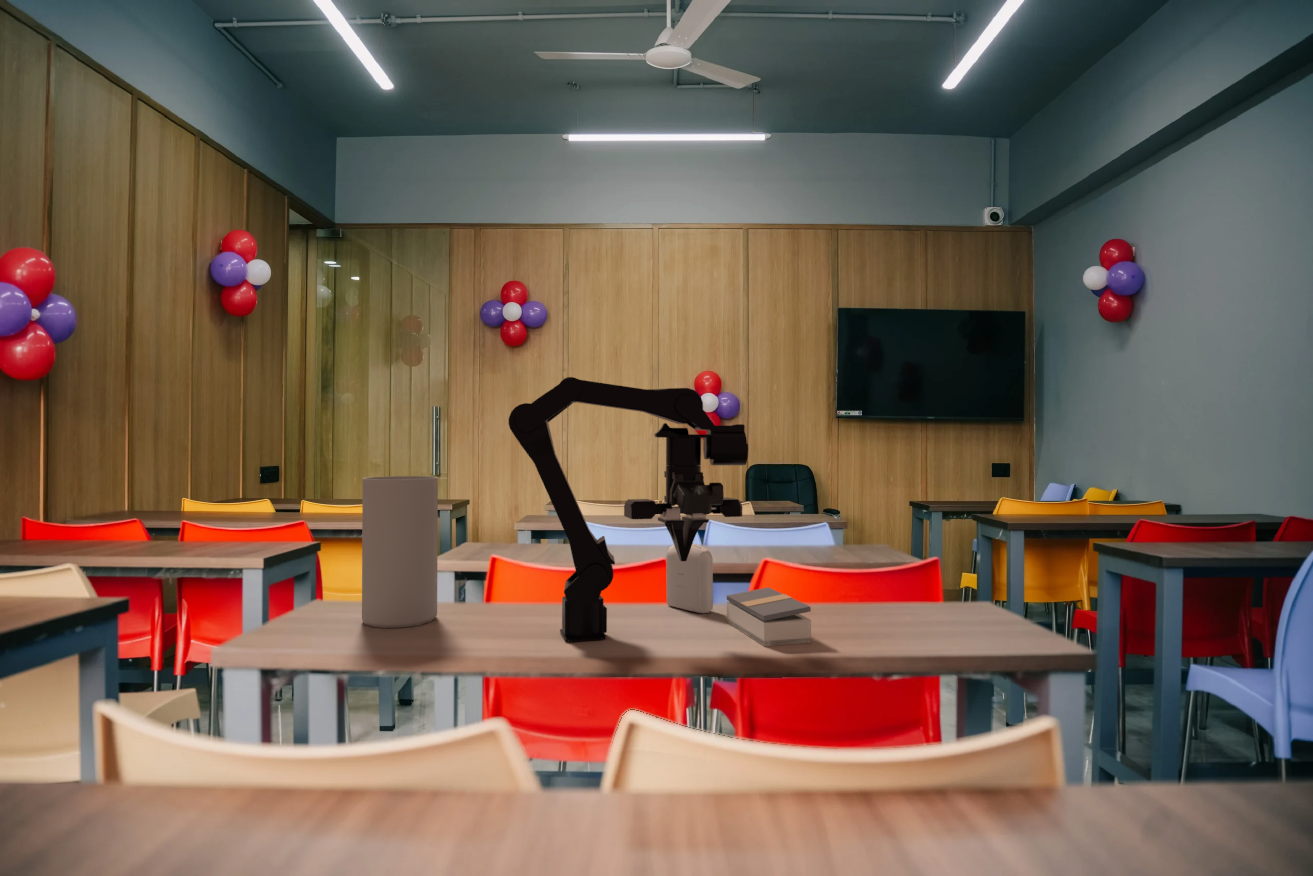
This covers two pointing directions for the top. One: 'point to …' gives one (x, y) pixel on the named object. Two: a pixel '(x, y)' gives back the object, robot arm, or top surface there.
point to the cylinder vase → (399, 550)
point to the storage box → (770, 627)
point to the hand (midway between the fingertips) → (683, 561)
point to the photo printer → (690, 580)
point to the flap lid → (768, 603)
